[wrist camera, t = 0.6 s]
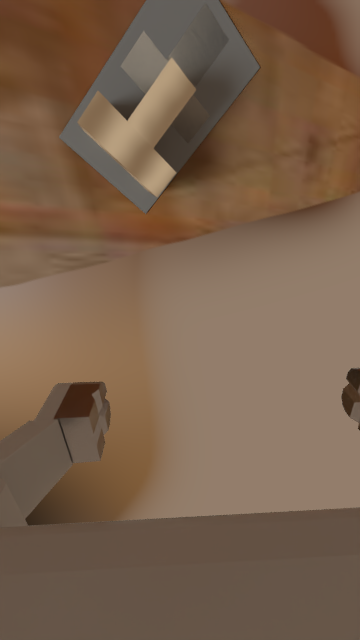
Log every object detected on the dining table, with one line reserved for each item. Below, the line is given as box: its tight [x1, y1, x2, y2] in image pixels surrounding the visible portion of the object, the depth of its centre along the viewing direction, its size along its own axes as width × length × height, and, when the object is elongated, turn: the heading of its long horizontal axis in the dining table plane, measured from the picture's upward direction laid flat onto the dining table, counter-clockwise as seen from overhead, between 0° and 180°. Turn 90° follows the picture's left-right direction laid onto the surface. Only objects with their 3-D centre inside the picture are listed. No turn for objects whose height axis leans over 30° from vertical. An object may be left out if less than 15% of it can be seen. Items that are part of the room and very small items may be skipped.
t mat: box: [59, 0, 260, 214], centre depth 40 cm, size 16×27×1 cm, turn 137°
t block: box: [77, 57, 196, 197], centre depth 37 cm, size 12×12×10 cm
